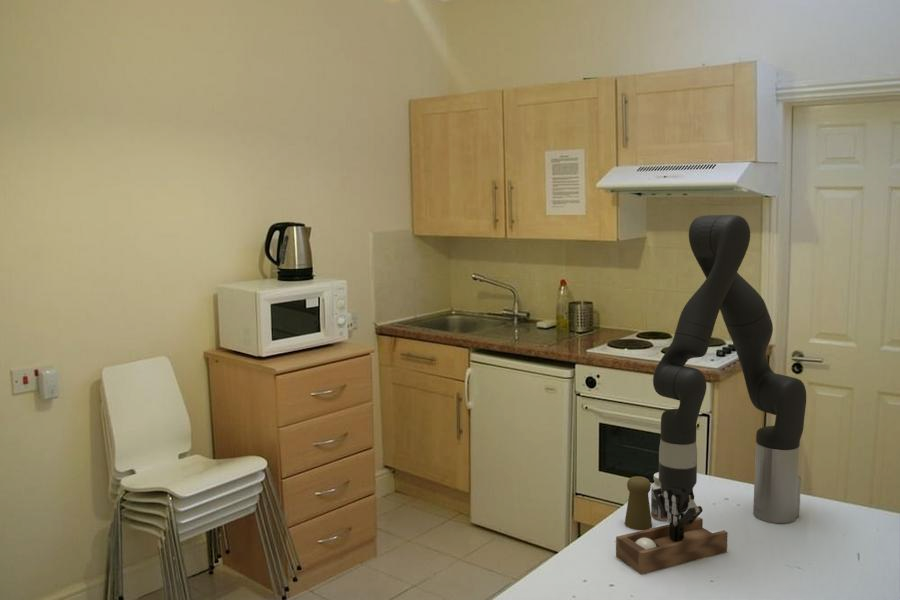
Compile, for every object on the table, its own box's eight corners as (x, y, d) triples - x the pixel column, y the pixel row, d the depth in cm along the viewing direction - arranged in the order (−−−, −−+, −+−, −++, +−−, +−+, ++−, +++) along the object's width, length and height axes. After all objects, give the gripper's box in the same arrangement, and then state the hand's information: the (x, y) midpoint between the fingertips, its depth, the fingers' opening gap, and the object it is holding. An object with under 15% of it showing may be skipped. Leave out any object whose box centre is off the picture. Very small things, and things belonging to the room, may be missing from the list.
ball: (630, 533, 162) (626, 556, 162) (645, 543, 157) (640, 566, 158) (649, 533, 164) (644, 555, 164) (664, 543, 159) (659, 566, 160)
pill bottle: (679, 514, 184) (680, 473, 182) (672, 523, 179) (673, 481, 177) (654, 509, 187) (655, 469, 185) (647, 518, 182) (648, 477, 180)
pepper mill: (652, 531, 175) (653, 483, 173) (624, 529, 176) (625, 482, 175) (651, 520, 181) (652, 474, 179) (624, 518, 182) (625, 472, 181)
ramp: (698, 536, 172) (699, 517, 171) (727, 552, 164) (727, 532, 164) (615, 556, 163) (616, 536, 163) (641, 574, 156) (641, 553, 155)
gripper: (715, 467, 157) (712, 549, 160) (671, 448, 169) (669, 525, 171) (685, 474, 154) (683, 557, 156) (642, 454, 166) (641, 531, 168)
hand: (676, 540), depth 164 cm, fingers closed
